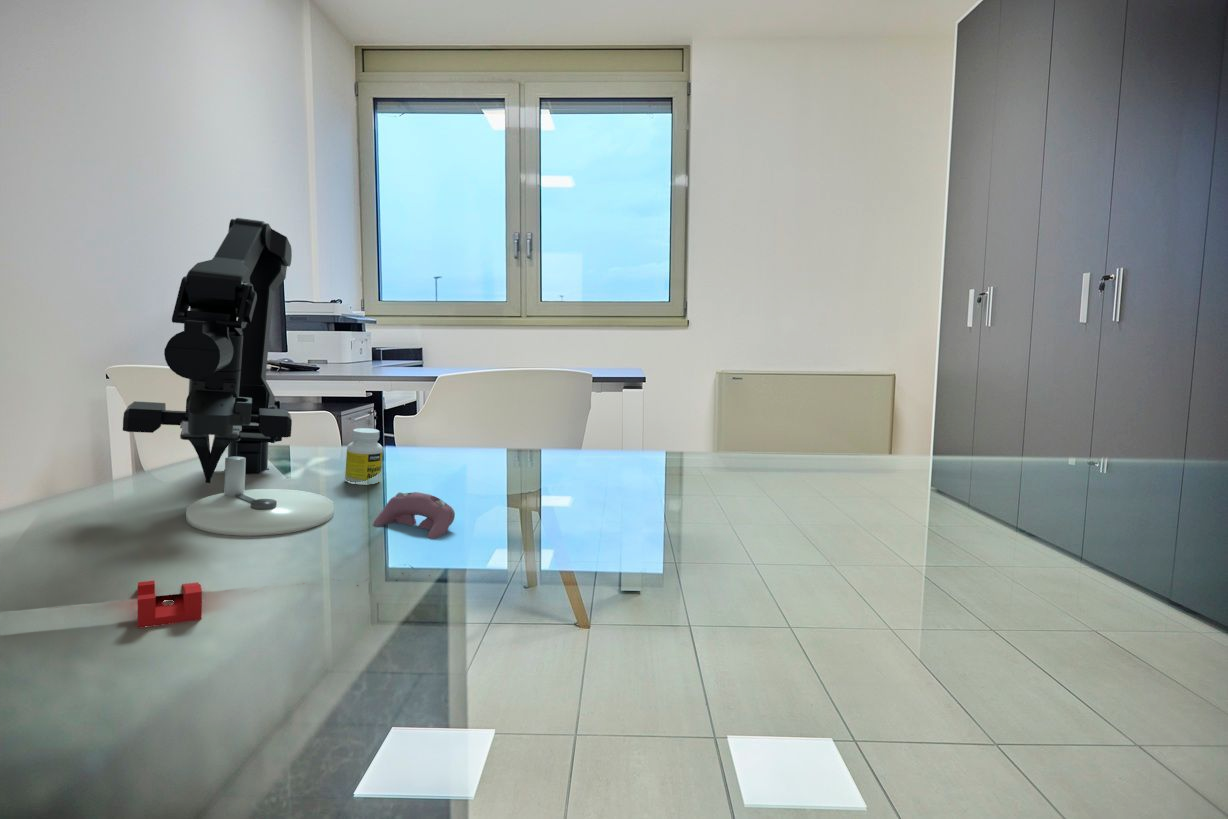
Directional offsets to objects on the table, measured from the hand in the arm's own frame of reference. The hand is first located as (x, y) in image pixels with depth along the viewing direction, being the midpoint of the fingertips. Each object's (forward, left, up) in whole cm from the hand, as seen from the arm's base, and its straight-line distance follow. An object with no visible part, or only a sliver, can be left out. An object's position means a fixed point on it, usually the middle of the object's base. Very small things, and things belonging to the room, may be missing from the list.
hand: (208, 482), depth 90 cm
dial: (+7, +6, -3) cm, 10 cm away
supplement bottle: (-8, +21, -4) cm, 23 cm away
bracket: (+31, -3, -5) cm, 31 cm away
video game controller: (+16, +24, -4) cm, 29 cm away
